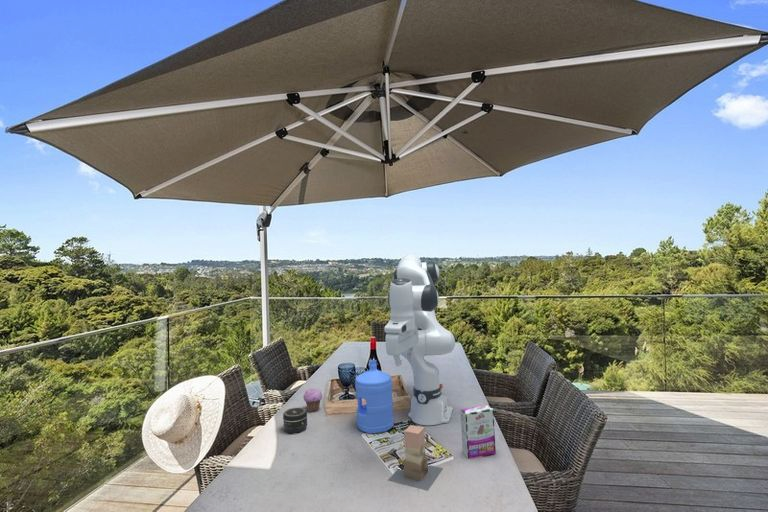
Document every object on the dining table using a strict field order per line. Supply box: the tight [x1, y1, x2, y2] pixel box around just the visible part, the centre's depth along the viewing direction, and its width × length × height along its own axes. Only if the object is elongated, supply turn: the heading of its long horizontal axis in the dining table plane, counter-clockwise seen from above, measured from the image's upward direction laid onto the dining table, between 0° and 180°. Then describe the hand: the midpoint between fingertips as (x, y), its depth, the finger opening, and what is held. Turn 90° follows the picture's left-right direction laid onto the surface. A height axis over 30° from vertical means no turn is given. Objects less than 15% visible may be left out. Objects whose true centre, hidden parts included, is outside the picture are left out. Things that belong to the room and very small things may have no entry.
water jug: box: [354, 359, 395, 434], centre depth 176 cm, size 16×16×28 cm
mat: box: [387, 464, 444, 492], centre depth 137 cm, size 14×14×1 cm
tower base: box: [402, 455, 429, 481], centre depth 137 cm, size 6×6×5 cm
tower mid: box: [404, 442, 426, 464], centre depth 137 cm, size 5×5×5 cm
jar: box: [282, 407, 308, 434], centre depth 176 cm, size 10×10×8 cm
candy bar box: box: [459, 404, 497, 460], centre depth 149 cm, size 11×5×16 cm, turn 105°
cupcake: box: [303, 388, 323, 413], centre depth 197 cm, size 9×9×10 cm
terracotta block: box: [403, 424, 426, 449], centre depth 137 cm, size 5×5×5 cm
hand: (404, 361), depth 150 cm, fingers open, 8 cm apart
